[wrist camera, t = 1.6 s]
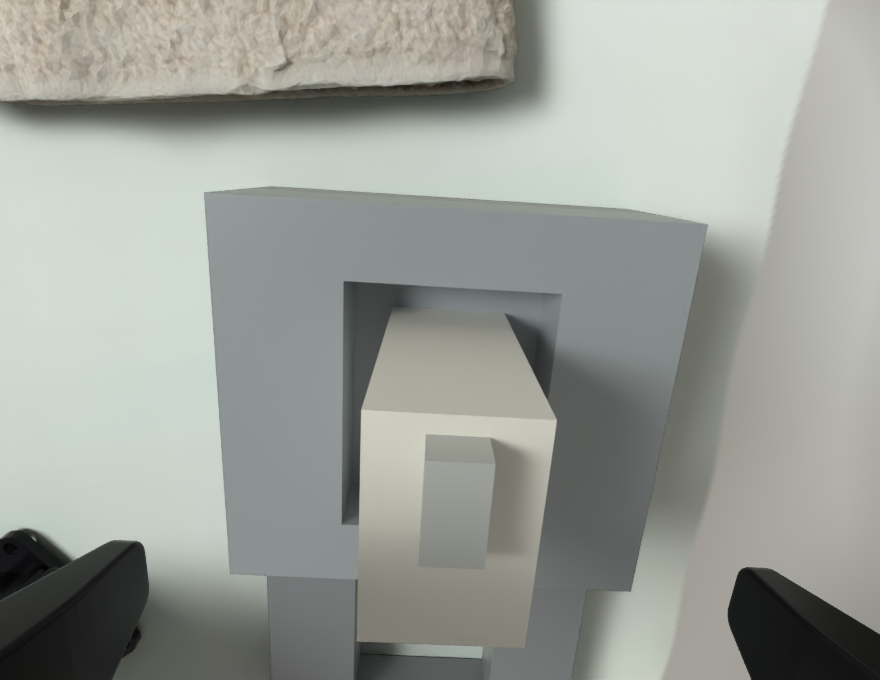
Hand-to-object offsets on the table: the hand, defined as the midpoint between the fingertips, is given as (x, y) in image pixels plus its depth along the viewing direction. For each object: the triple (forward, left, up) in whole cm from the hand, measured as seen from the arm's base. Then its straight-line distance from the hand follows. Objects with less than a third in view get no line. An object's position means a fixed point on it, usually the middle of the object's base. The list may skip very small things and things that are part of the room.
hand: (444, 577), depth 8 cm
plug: (0, 0, -7) cm, 7 cm away
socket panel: (-3, -4, -10) cm, 11 cm away
